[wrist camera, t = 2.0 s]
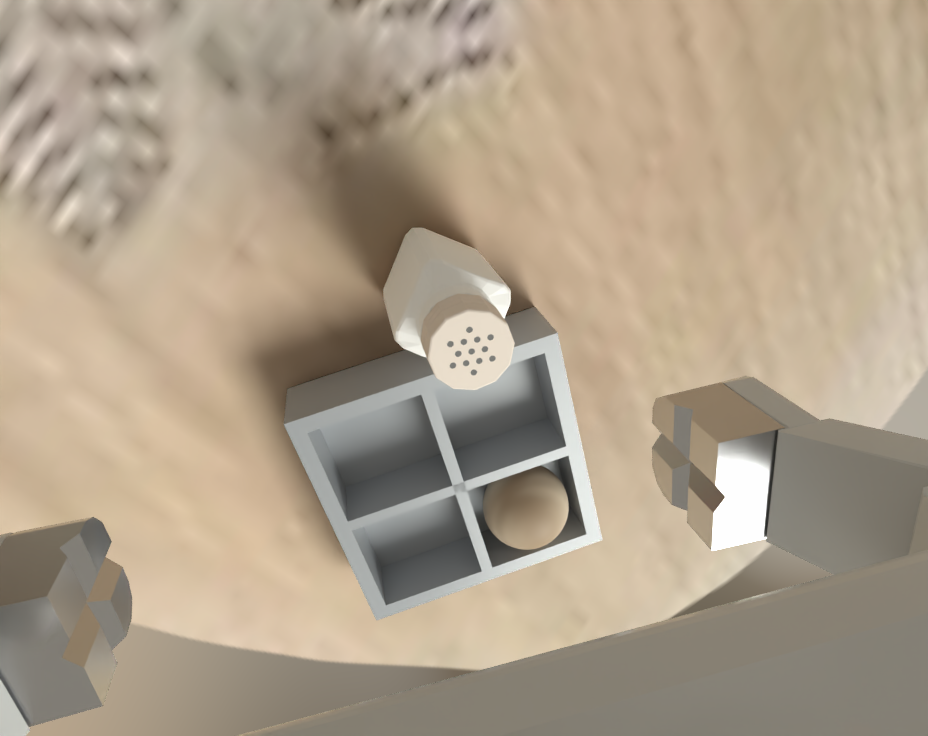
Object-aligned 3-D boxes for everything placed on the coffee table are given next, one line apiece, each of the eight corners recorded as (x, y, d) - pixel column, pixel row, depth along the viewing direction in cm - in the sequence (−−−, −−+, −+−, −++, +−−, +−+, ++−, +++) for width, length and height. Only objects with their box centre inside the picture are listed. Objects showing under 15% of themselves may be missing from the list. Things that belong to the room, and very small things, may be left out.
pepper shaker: (484, 250, 32) (544, 320, 23) (451, 322, 33) (497, 413, 24) (408, 219, 30) (442, 281, 22) (377, 296, 31) (398, 383, 23)
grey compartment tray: (534, 306, 33) (557, 332, 30) (579, 501, 39) (602, 540, 36) (287, 388, 33) (283, 424, 29) (371, 574, 39) (376, 620, 35)
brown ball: (544, 435, 36) (572, 483, 32) (559, 498, 38) (588, 550, 34) (465, 462, 36) (484, 513, 32) (485, 524, 38) (505, 580, 34)
